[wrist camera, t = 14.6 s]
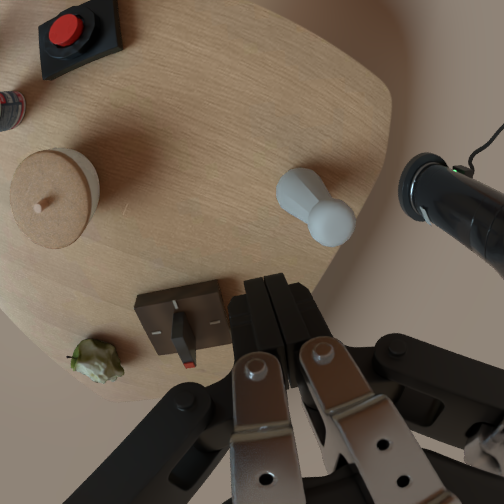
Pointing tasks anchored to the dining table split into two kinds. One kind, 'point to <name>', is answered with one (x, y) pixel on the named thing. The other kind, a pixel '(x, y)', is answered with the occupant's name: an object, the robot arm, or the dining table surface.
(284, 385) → the robot arm
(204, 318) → the handle panel
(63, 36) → the red button
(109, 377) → the fruit
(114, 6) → the button block
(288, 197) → the salt shaker
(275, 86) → the dining table surface
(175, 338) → the handle
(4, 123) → the pill bottle
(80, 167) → the trinket box
